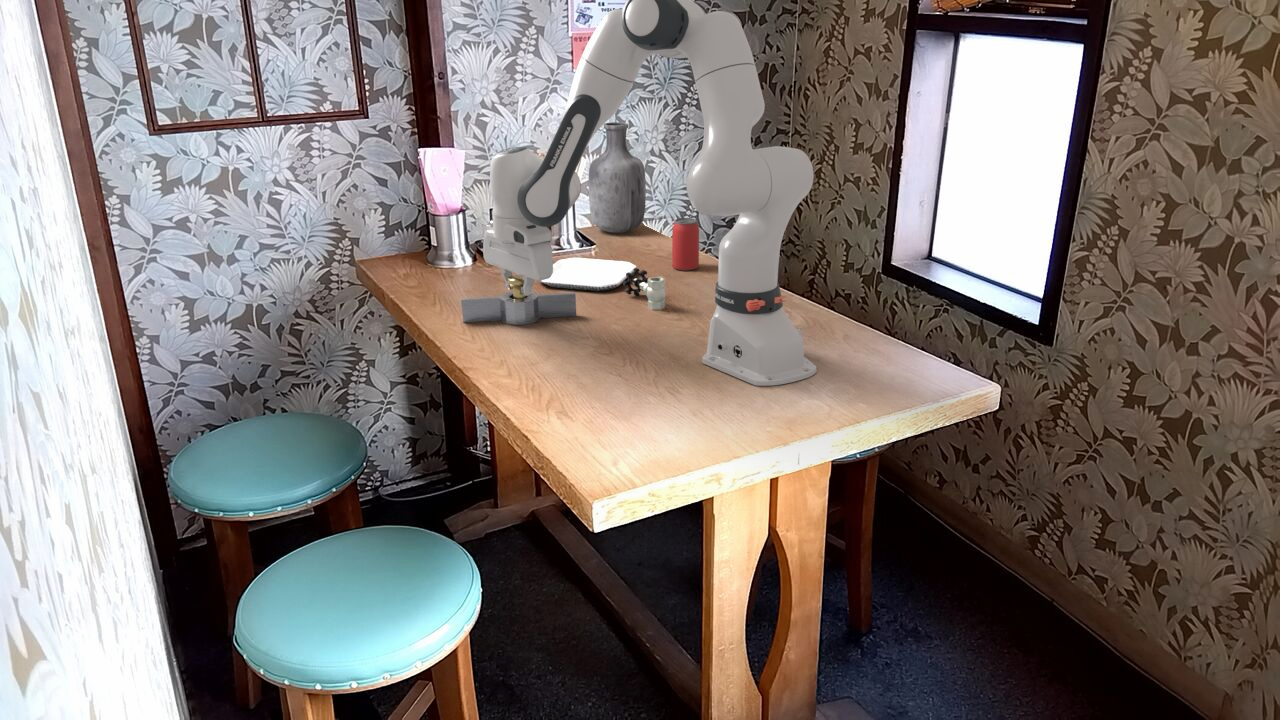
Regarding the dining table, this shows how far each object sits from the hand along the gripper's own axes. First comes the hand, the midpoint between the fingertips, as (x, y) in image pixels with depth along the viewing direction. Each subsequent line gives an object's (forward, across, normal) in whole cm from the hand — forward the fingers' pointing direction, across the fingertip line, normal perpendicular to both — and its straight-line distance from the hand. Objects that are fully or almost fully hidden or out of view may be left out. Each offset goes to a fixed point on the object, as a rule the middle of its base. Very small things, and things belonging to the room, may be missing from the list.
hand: (518, 291), depth 201 cm
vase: (+6, -41, +64) cm, 77 cm away
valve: (+6, +11, +27) cm, 30 cm away
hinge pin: (+4, 0, 0) cm, 4 cm away
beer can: (+6, -2, +52) cm, 53 cm away
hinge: (+6, 0, 0) cm, 6 cm away
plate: (+7, -12, +29) cm, 32 cm away
